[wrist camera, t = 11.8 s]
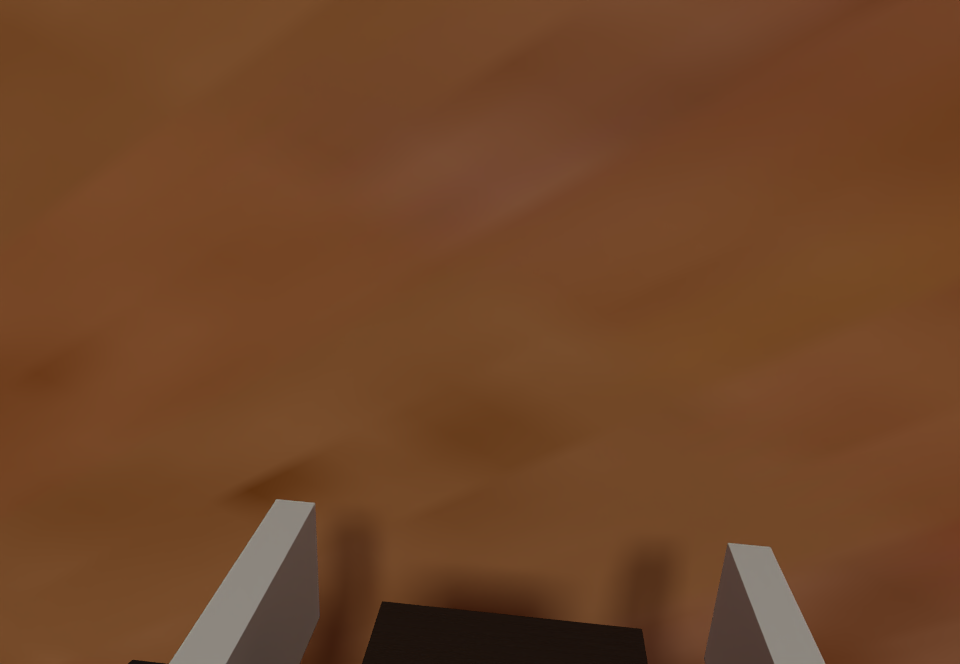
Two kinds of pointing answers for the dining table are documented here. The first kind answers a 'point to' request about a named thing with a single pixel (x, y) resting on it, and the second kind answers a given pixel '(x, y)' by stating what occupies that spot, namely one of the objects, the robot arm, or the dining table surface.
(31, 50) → the dining table surface
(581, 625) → the shaft
